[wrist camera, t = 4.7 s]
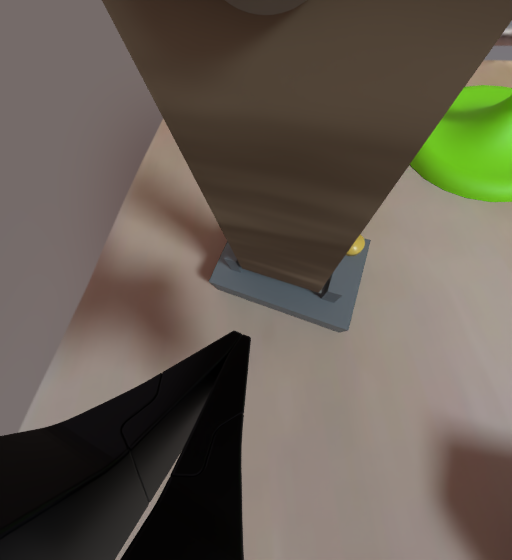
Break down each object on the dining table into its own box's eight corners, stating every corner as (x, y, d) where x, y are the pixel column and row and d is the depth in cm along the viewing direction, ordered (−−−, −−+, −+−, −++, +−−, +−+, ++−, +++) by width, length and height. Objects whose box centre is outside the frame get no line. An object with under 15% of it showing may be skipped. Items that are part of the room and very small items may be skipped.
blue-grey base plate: (339, 332, 17) (360, 327, 13) (217, 289, 20) (198, 272, 15) (359, 252, 19) (384, 224, 15) (246, 223, 22) (237, 190, 17)
